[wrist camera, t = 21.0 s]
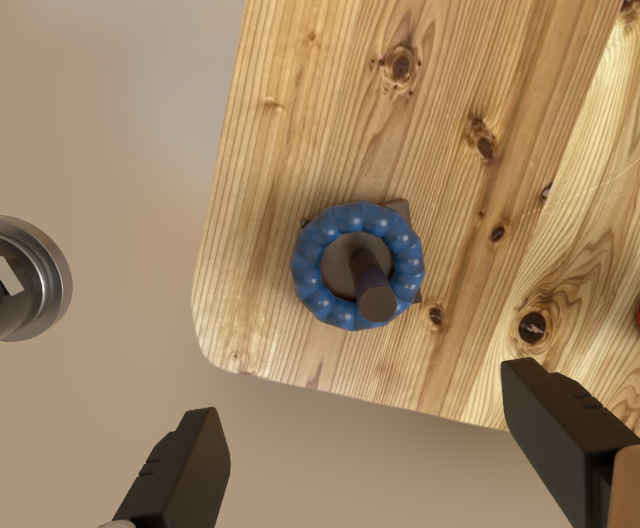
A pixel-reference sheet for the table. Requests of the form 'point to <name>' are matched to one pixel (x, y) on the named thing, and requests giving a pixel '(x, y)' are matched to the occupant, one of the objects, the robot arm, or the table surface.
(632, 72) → the table surface
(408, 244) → the blue segmented ring
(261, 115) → the table surface
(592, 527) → the robot arm
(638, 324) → the soda can
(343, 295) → the stand
